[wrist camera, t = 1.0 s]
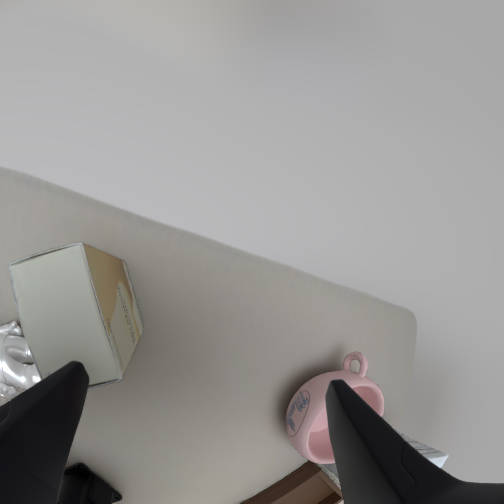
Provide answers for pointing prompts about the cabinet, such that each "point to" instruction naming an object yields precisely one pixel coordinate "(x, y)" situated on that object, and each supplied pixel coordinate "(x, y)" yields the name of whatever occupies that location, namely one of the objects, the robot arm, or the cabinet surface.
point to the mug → (314, 409)
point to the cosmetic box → (77, 311)
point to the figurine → (15, 361)
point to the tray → (301, 489)
